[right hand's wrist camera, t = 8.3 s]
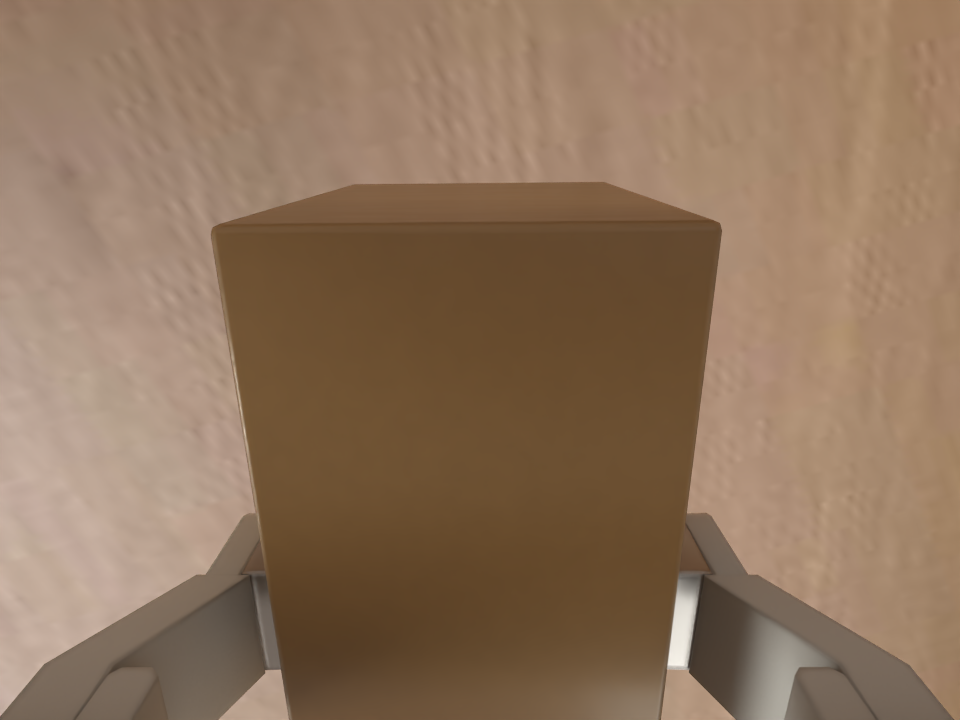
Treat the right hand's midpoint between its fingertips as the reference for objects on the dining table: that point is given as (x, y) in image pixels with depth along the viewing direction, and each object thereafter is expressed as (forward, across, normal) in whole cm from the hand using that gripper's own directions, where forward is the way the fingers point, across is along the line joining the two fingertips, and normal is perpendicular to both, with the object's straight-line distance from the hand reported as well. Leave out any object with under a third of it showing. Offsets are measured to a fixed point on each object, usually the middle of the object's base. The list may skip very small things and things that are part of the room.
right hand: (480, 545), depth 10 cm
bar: (+3, 0, -29) cm, 29 cm away
